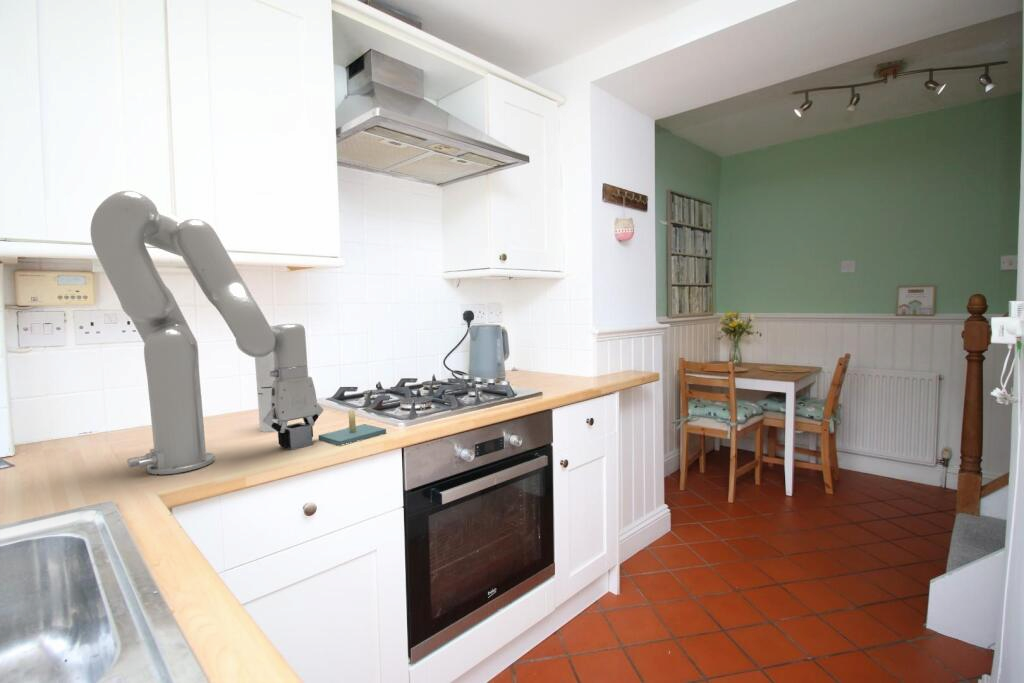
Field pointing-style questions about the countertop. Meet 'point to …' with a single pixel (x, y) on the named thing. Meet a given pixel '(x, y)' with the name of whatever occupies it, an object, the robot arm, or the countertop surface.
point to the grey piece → (264, 388)
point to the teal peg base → (352, 432)
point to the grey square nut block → (299, 435)
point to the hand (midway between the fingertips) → (296, 443)
